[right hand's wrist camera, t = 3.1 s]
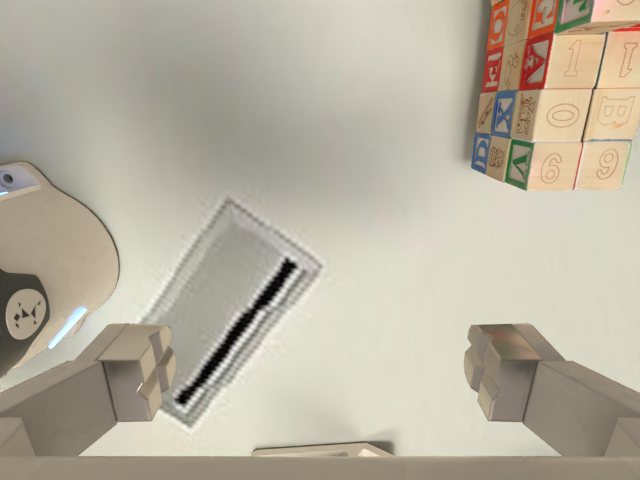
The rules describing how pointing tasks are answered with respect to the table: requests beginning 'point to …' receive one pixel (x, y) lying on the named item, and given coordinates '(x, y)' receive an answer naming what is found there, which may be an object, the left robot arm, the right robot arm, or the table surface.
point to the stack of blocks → (559, 93)
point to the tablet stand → (325, 451)
